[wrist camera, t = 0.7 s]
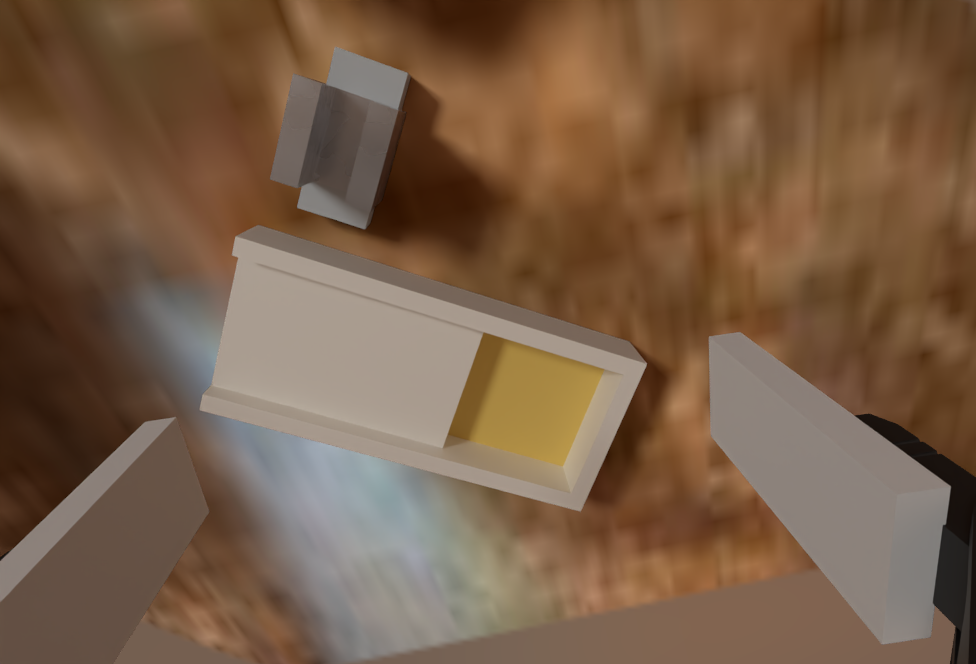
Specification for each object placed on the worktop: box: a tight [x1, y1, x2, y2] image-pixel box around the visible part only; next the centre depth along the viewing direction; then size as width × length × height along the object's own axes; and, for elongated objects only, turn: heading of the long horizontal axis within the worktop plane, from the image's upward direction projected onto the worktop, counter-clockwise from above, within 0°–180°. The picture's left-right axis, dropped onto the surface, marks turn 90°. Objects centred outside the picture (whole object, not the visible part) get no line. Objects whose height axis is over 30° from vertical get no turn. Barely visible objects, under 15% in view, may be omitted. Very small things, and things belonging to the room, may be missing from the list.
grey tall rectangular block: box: [297, 47, 411, 229], centre depth 31 cm, size 4×8×2 cm, turn 161°
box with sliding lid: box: [200, 225, 647, 512], centre depth 35 cm, size 22×10×4 cm, turn 71°
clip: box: [270, 73, 407, 212], centre depth 28 cm, size 4×4×4 cm
